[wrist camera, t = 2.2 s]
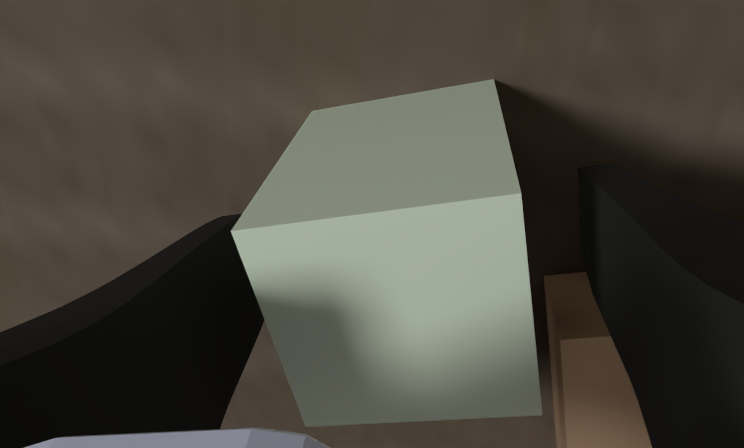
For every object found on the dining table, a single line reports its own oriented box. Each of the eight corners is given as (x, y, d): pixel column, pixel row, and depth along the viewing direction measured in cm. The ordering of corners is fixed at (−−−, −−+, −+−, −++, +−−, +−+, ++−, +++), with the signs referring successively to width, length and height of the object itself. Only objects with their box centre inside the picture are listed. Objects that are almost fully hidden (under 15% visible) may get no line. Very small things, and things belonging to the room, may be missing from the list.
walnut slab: (556, 455, 20) (572, 539, 17) (541, 268, 16) (560, 339, 13) (814, 446, 18) (875, 537, 15) (866, 236, 14) (958, 309, 12)
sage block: (352, 259, 16) (305, 426, 11) (312, 110, 14) (230, 230, 9) (511, 240, 15) (542, 414, 10) (493, 78, 13) (520, 193, 8)
